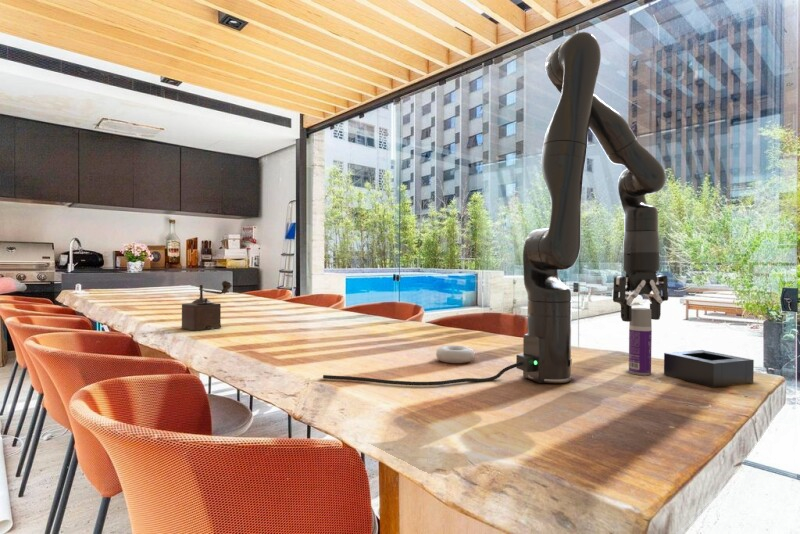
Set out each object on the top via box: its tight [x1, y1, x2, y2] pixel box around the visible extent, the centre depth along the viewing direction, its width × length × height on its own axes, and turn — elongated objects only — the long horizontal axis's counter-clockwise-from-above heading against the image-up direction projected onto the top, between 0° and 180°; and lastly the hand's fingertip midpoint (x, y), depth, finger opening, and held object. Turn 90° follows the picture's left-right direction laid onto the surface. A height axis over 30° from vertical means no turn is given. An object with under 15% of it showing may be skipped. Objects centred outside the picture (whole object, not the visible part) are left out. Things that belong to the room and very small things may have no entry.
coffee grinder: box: [181, 279, 233, 332], centre depth 182 cm, size 16×11×18 cm
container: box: [628, 307, 653, 376], centre depth 112 cm, size 5×5×15 cm
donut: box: [435, 345, 475, 364], centre depth 124 cm, size 10×4×10 cm
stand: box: [663, 349, 755, 388], centre depth 107 cm, size 12×12×5 cm
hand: (640, 320), depth 112 cm, fingers open, 8 cm apart
